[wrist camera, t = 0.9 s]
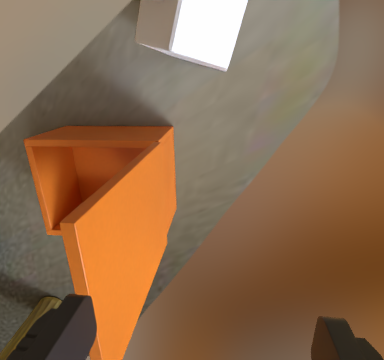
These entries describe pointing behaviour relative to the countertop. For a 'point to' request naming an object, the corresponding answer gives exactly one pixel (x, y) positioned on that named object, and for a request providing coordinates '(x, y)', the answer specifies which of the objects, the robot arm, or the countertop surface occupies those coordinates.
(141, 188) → the lid
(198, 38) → the milk carton
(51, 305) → the vase
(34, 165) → the box
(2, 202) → the countertop surface
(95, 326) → the robot arm
